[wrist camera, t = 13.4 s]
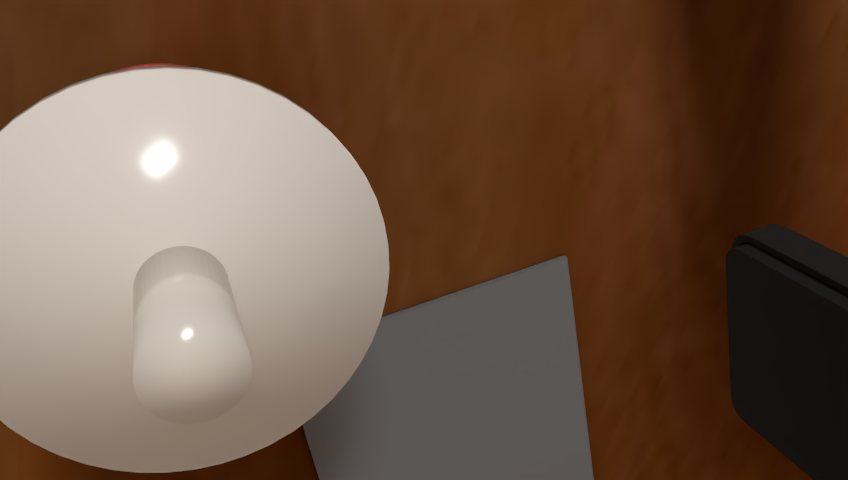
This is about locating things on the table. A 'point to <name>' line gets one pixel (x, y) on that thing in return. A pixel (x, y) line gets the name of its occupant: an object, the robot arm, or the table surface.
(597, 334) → the table surface
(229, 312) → the lid
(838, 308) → the robot arm
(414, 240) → the table surface
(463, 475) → the mat
